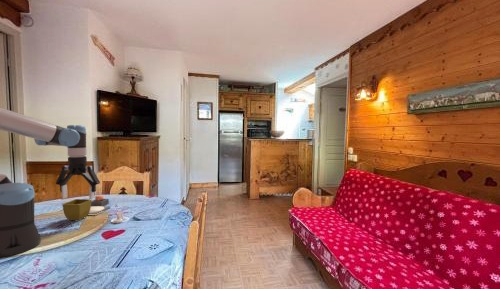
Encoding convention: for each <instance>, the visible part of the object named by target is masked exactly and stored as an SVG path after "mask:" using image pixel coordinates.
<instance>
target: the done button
mask: <svg viewBox="0 0 500 289" xmlns="http://www.w3.org/2000/svg"><path fill="white" fill-rule="evenodd" d="M103 199H104V195H103V194H102V195H101V194H99V195H95V199H94V200H95V201H103Z"/></svg>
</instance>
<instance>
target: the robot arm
mask: <svg viewBox="0 0 500 289" xmlns="http://www.w3.org/2000/svg"><path fill="white" fill-rule="evenodd" d="M0 131H4V132H8V133H12V134H16V135H19V136H23V137H28V138H31V139H33V140H34V143H35V144H36V145H37V146H58V147H60V146H61V147H66V148H67V156H68V157H67V164H68V165H62V166H61V171H60V173H59V175H58V177H57V179H56V182H55V184H56V185H59V187H60V188H59V191H60V192H61V199H62V200H64V199H67V198H69V197H68V194H69V193H68V184H67V183H68V182H69V180H70V179H71V178H72V177H73V176H76V175H77V176H81V177H83V179H84V180H85V181H86V182H87V183H88V184H89V185H88V188H89V189H88V193H89V199H90V200H94V198H95V196H96V195H95V192H96V191H97V187H96V186H97V185H99V184H101V182H100V179H99V178H98V176H97V173H96V172H95V170H94V166H93V165H88V166H87V163H88V162H87V158H88V157H87V129H86V126H85V125H83V124H82V125H81V124H75V125H73V124H69V125H67V126H66V128H65V127H63V126H59V125H56V124H53V123H50V122H46V121H43V120H42V119H37V118H36V117H35V118H34V117H31V116H27V115H25V114H22V113H18V112H16V111H14V110H13V111H12V110H9V109H6V108H3V107H0ZM35 194H36V193H35V190H34V186H33V185H32V184H29V183H27V182H12V181H11V179H9V177H8V176H7V175H6V174H2V173H0V258H3V257H8V256H13V255H17V254H18V255H19V254H21V253H24V252H27V251H29V250H31V249H34V248H36V247H37V246H39V245H40V243H41V242H42V235H41V234H40V233H39V231H38V228H37V226H36V224H35V197H36V195H35Z"/></svg>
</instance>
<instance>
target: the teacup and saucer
mask: <svg viewBox="0 0 500 289" xmlns="http://www.w3.org/2000/svg"><path fill="white" fill-rule="evenodd" d="M124 219H125V220H124ZM129 220H130V218H129V217H128V216H127V217H126V216H124V212H123V211H118V212H116V218H113V219H111V220H110V222H111V223H113V224H119V223H124V222H127V221H129Z"/></svg>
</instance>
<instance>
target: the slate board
mask: <svg viewBox="0 0 500 289" xmlns="http://www.w3.org/2000/svg"><path fill="white" fill-rule="evenodd" d="M109 209H111V205H110V206H109V205H105V206H91V208H90V211H89V213H88V214H97V213H99V212H101V211H104V212H106V211H107V210H109Z"/></svg>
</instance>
